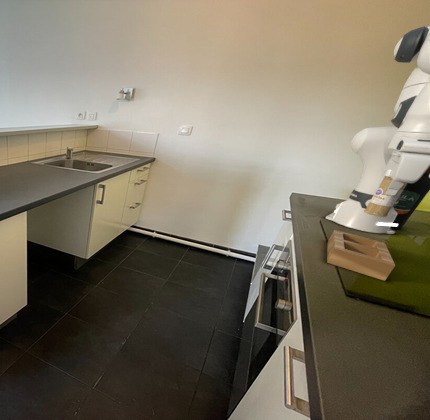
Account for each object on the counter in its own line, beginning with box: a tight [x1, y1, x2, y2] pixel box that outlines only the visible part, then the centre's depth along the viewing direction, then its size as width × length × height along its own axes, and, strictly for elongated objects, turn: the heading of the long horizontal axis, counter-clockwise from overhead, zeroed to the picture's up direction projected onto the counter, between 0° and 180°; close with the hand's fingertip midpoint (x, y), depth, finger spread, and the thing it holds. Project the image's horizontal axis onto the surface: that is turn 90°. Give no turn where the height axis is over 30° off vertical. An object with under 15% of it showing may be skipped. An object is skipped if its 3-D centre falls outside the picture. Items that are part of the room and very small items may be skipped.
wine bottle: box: [390, 166, 430, 230], centre depth 97 cm, size 8×8×30 cm
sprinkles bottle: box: [364, 169, 407, 217], centre depth 71 cm, size 5×5×14 cm
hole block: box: [326, 229, 396, 282], centre depth 75 cm, size 20×11×5 cm, turn 133°
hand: (387, 192), depth 71 cm, fingers closed on sprinkles bottle, 4 cm apart
